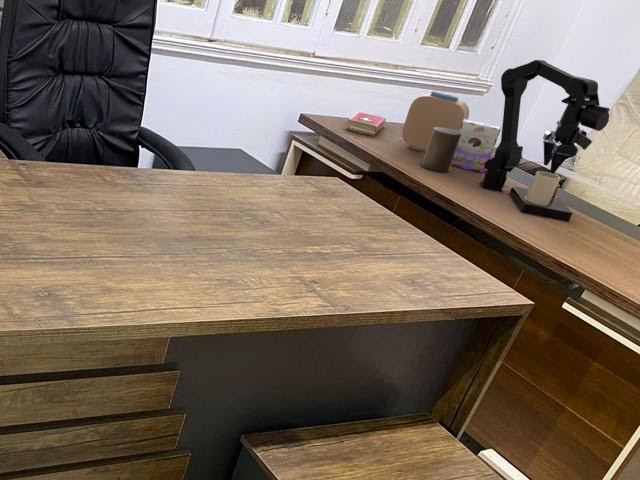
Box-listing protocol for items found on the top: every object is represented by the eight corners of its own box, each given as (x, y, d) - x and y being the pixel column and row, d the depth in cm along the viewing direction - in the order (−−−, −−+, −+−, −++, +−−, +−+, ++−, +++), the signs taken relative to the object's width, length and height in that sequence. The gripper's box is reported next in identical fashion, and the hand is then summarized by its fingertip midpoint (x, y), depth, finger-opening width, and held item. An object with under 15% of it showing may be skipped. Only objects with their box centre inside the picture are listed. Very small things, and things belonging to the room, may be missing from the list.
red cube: (556, 198, 266) (561, 185, 264) (544, 195, 267) (549, 183, 264) (553, 194, 270) (558, 182, 268) (541, 192, 270) (546, 180, 268)
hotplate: (521, 212, 257) (525, 203, 255) (508, 193, 274) (512, 184, 273) (570, 222, 256) (574, 213, 254) (554, 202, 273) (557, 193, 271)
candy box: (485, 170, 297) (502, 126, 288) (484, 173, 292) (501, 129, 284) (447, 161, 301) (463, 117, 292) (446, 164, 296) (462, 120, 288)
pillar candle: (447, 174, 284) (463, 132, 276) (420, 168, 287) (434, 126, 279) (448, 167, 292) (463, 127, 284) (421, 161, 295) (435, 121, 286)
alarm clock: (454, 155, 310) (475, 99, 298) (449, 159, 303) (470, 102, 291) (404, 141, 318) (422, 86, 307) (397, 145, 311) (415, 88, 299)
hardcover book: (383, 127, 335) (386, 117, 333) (374, 136, 318) (377, 125, 316) (355, 120, 339) (358, 110, 336) (345, 129, 322) (348, 118, 320)
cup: (528, 202, 257) (539, 175, 252) (523, 195, 263) (534, 169, 258) (551, 207, 256) (563, 180, 252) (545, 200, 262) (556, 173, 258)
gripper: (604, 133, 241) (581, 182, 250) (588, 119, 257) (566, 166, 265) (567, 126, 242) (545, 175, 251) (553, 112, 258) (533, 159, 266)
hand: (548, 169), depth 258 cm, fingers open, 9 cm apart
